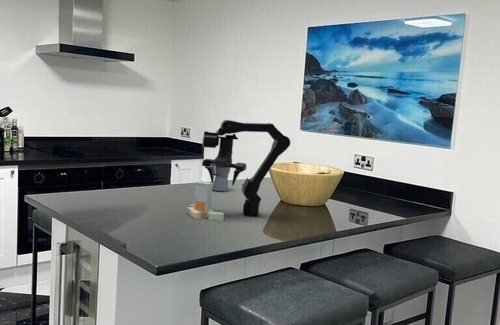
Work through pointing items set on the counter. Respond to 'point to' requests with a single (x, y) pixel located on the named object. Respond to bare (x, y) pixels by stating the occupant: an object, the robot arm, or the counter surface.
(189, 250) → the counter surface
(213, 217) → the sage brick
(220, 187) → the moka pot
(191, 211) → the beech slab
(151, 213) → the counter surface
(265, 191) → the counter surface
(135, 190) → the counter surface
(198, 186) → the skincare box
